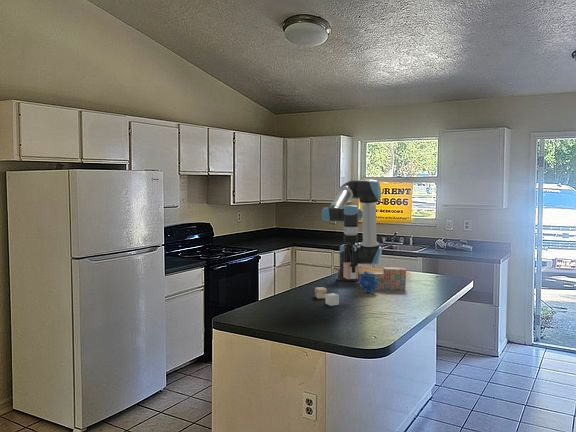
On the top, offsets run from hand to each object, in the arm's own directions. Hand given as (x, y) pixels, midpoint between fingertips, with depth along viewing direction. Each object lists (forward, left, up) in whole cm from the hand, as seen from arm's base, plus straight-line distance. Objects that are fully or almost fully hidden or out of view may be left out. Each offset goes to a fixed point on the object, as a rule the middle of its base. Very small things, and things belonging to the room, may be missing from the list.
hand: (350, 277), depth 270 cm
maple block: (-8, -14, -12) cm, 20 cm away
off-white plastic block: (+8, -13, -12) cm, 20 cm away
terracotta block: (0, 0, 0) cm, 0 cm away
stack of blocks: (-20, +31, -12) cm, 39 cm away
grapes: (-12, +15, -12) cm, 22 cm away
